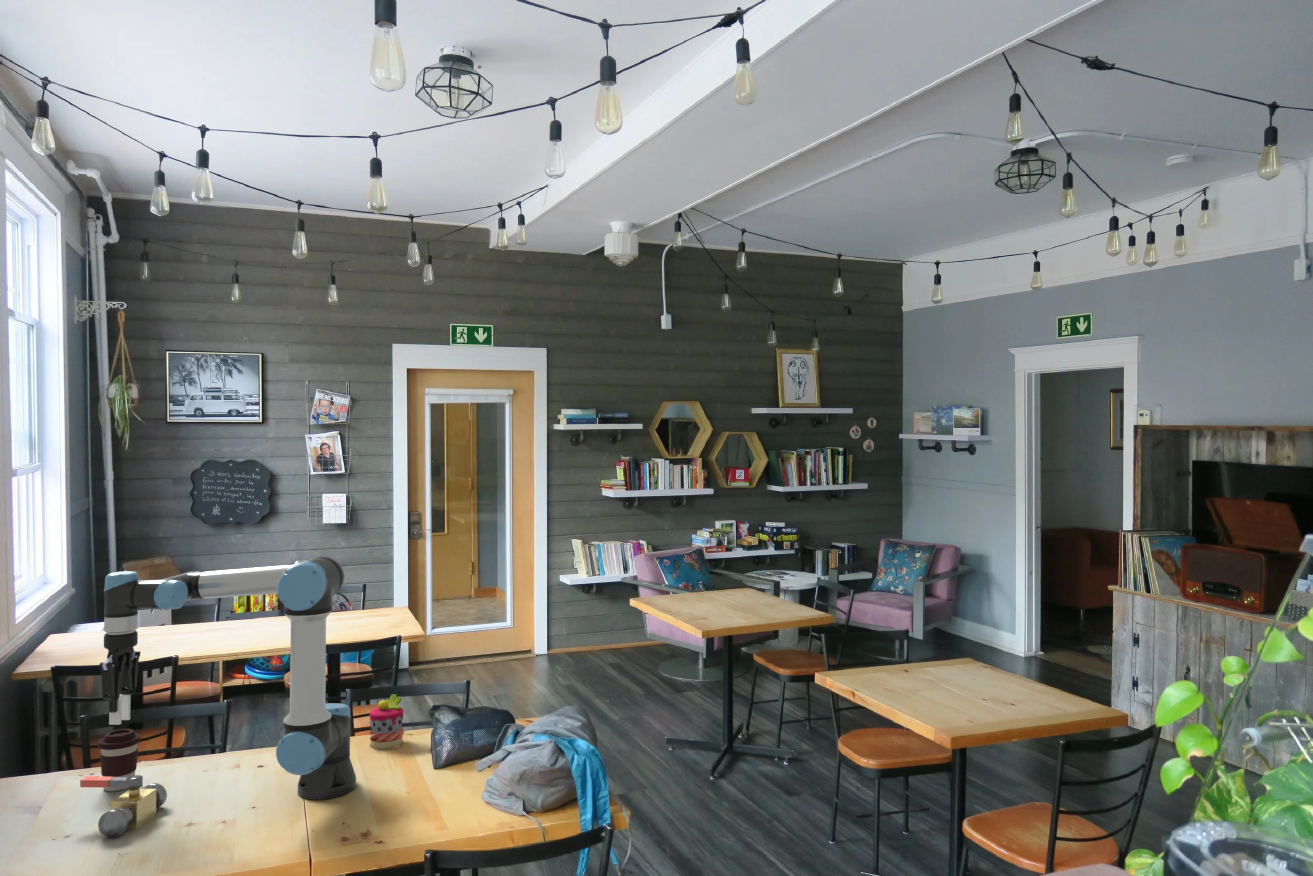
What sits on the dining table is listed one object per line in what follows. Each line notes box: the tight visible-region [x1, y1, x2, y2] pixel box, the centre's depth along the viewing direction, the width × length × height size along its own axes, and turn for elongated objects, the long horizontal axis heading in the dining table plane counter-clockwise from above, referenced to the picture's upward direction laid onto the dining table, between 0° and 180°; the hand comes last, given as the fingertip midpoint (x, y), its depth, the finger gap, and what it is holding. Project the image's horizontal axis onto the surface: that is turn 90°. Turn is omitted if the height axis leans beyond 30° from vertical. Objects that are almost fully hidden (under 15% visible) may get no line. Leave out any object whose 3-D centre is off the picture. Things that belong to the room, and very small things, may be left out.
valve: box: [97, 782, 168, 839], centre depth 214 cm, size 20×6×9 cm, turn 179°
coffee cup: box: [97, 728, 141, 792], centre depth 236 cm, size 10×10×15 cm
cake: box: [368, 694, 405, 751], centre depth 271 cm, size 10×11×15 cm
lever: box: [79, 774, 144, 791], centre depth 214 cm, size 15×4×2 cm, turn 89°
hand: (119, 721), depth 222 cm, fingers open, 3 cm apart
